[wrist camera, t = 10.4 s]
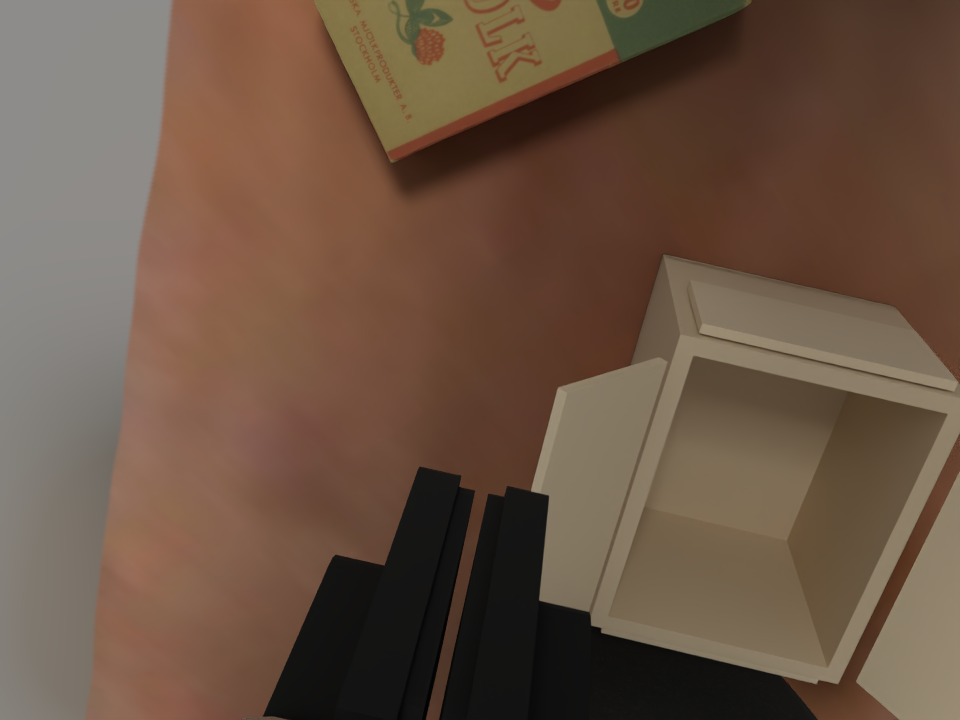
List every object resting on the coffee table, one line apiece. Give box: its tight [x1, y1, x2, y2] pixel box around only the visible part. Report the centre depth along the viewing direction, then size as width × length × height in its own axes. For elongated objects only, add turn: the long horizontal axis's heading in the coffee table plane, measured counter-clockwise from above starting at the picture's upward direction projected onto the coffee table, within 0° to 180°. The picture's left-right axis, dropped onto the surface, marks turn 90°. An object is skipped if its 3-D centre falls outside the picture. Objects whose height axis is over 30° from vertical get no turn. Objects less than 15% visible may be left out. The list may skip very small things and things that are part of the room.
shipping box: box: [589, 254, 960, 684], centre depth 41 cm, size 15×11×10 cm
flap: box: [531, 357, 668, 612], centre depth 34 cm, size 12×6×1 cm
